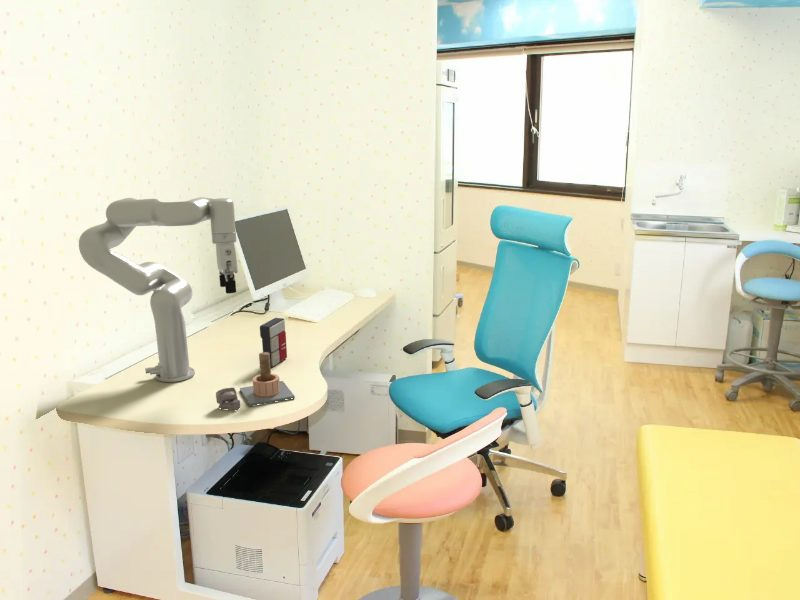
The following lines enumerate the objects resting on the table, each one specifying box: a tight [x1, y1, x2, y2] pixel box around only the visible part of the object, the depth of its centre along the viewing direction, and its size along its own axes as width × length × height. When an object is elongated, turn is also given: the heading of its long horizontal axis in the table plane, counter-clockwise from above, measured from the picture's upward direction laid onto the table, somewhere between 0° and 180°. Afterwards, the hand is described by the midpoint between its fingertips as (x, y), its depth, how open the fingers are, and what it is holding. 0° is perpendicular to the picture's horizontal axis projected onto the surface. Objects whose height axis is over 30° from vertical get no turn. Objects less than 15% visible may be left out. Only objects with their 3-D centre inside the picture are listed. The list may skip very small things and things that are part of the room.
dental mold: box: [215, 387, 241, 411], centre depth 214 cm, size 8×7×5 cm
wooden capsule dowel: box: [258, 351, 272, 382], centre depth 221 cm, size 3×3×12 cm
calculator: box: [259, 317, 288, 369], centre depth 250 cm, size 11×4×15 cm, turn 160°
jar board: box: [239, 373, 296, 407], centre depth 222 cm, size 14×14×6 cm
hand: (228, 289), depth 230 cm, fingers open, 9 cm apart
